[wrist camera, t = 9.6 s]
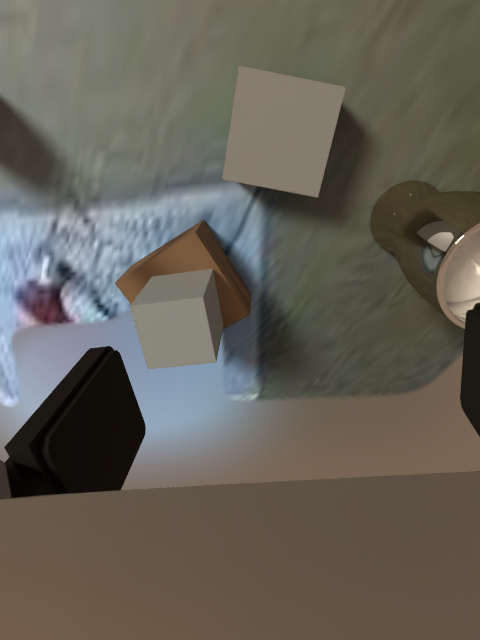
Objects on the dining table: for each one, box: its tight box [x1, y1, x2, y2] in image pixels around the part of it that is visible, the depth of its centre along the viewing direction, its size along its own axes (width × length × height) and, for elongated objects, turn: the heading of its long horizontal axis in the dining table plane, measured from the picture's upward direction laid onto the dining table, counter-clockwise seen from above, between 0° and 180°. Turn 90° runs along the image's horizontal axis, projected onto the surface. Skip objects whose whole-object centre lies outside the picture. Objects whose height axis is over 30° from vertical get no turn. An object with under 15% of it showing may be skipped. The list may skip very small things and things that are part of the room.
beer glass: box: [371, 181, 480, 329], centre depth 27 cm, size 7×7×15 cm
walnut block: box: [115, 220, 251, 329], centre depth 35 cm, size 8×8×5 cm
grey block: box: [222, 66, 346, 197], centre depth 29 cm, size 7×7×5 cm
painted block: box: [130, 269, 223, 369], centre depth 30 cm, size 5×5×6 cm
